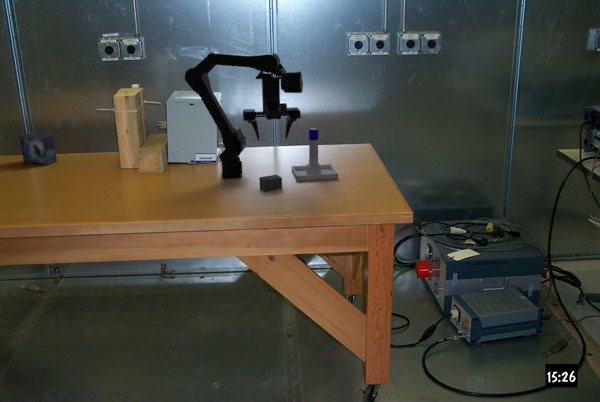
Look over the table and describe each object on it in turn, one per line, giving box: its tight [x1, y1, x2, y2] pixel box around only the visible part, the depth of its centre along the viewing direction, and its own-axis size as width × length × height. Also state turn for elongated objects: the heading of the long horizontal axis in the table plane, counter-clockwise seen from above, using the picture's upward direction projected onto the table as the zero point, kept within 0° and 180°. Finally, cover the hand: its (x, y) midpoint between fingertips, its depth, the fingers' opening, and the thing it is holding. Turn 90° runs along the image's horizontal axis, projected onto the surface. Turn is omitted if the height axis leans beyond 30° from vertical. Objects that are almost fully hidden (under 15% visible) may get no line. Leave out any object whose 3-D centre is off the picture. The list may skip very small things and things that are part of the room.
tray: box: [291, 163, 339, 182], centre depth 213 cm, size 14×12×2 cm
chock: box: [258, 174, 283, 193], centre depth 199 cm, size 6×4×4 cm, turn 118°
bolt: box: [305, 127, 322, 175], centre depth 211 cm, size 16×5×5 cm
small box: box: [19, 132, 58, 166], centre depth 232 cm, size 11×6×10 cm, turn 73°
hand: (272, 139), depth 208 cm, fingers open, 9 cm apart
